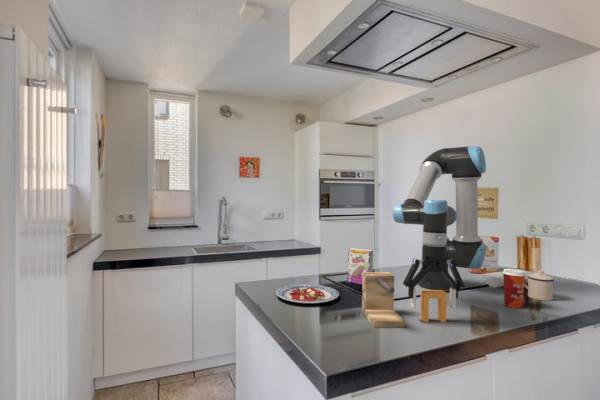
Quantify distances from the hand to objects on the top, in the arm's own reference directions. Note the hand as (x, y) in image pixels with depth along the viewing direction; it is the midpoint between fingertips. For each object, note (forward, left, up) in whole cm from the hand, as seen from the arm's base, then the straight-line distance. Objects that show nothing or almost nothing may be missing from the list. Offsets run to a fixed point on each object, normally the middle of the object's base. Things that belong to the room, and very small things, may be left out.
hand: (432, 307), depth 111 cm
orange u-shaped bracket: (0, 0, -5) cm, 5 cm away
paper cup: (-15, +39, -5) cm, 42 cm away
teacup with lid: (-27, +58, -5) cm, 64 cm away
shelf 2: (-48, +62, -5) cm, 79 cm away
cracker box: (-72, +62, -5) cm, 95 cm away
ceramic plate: (-26, -41, -5) cm, 49 cm away
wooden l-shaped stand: (-2, -17, -4) cm, 18 cm away
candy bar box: (-48, -14, -5) cm, 50 cm away
